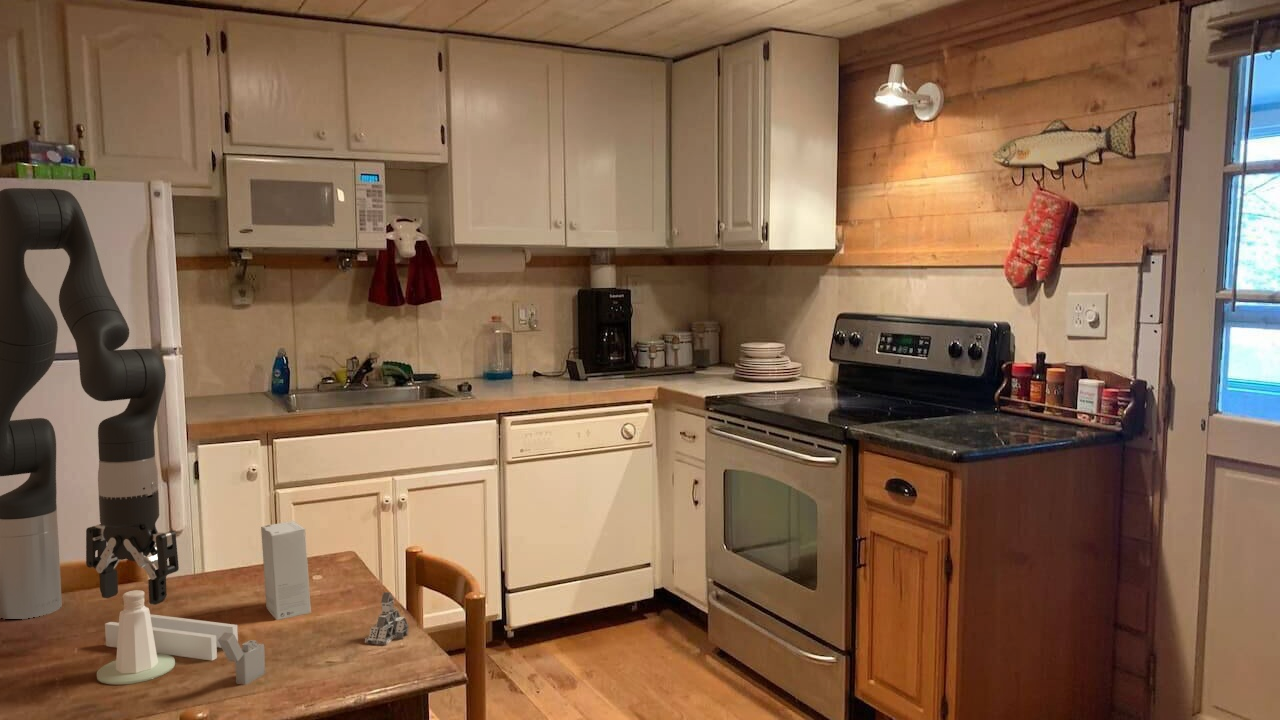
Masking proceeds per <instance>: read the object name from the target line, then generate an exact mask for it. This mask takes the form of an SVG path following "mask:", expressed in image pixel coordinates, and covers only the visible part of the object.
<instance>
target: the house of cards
mask: <svg viewBox="0 0 1280 720" xmlns="http://www.w3.org/2000/svg"><path fill="white" fill-rule="evenodd" d="M394 601H395V600H394V597H393V595H392V593H391V592H387V591H383V592H382V597H381V599H380V604H381V614H379V615H377V616H378V617H377V621H376V624H374V625H372V626H371V627H370V630H369V635H368V636H367V637H365V638H364V644H370V645H379V646H380V645H381V646H388V644H389V643H390V642H391V641H392V640H394V639H397V640H398V639H399V640H404V636H406V637H408V636H409V633H408V632H409V631H408V630H409V624H408V622H407V619H406V617H405V616H401V614H400V612H399V609H398V608H395V607H394Z"/></svg>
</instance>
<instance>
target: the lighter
mask: <svg viewBox="0 0 1280 720" xmlns="http://www.w3.org/2000/svg"><path fill="white" fill-rule="evenodd" d="M218 641H219V643H220V645H221V647H222V648H221V650H222V651H223V652H224V656H225V657H226V659H227V661H228V662H234V663H235V682H236V683H235V684H237V685H248V684H249V683H252V682H253V681H255V680H257V679H258V678H261V677H262V676H263V675H266V663H265V661H266V660H265V659H266V658H265V656H266V655H265V644H264V643H259V642H258V641H257V640H255V639H249V640H247V641H245V642H244V643H242V644H241V645H240V643H239V640H238V641H237V639H236V637H235V635H234V634H233V633H226V632H225V633H224V634H223V635H222V636H221V637H220V638H219V639H218Z"/></svg>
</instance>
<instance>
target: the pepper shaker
mask: <svg viewBox="0 0 1280 720" xmlns="http://www.w3.org/2000/svg"><path fill="white" fill-rule="evenodd" d="M145 595H146V593H145V591H143V590H140V589H134V590H130V591H127V592H124V593H123V594H122V599H123V600H122V601H123V610H121V611H120V612H119V617H118V623H119V628H118V642H117V647H116V659H115V660H116V670H117V671H119V672H120V673H121V674H133V673H139V672H143V671H146V670H150V669H152V668H153V667H154V666H155V665H156V664H157V663H158V659H157V653H156V647H155V641H154V635H153V629H152V623H151V617H150V614H151V611H150V609H149V607H148V606H145Z"/></svg>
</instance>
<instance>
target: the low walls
mask: <svg viewBox="0 0 1280 720" xmlns="http://www.w3.org/2000/svg"><path fill="white" fill-rule="evenodd" d="M150 617H151V623H152V629H153V635H154V641H155V647H156V653H159V654H167V655H170V656H174V657H175V656H176V657H177V656H178V657H182V658H183V657H184V658H189V659H198V660H205V661H214V660H217V658H218V652H217V651H218V649H217V648H220V649H222V647H221V645H220V643H219V641H218V639H219V638H220V637H221V636H222V635H223V634H224V633H225V632H226V633H233V634H234V635H235V637H236V639H237V641H238V642H239V636H238V635H239V634H238V624H233V623H231V624H230V623H225V622H218V621H217V622H215V621H208V620H200V619H193V618H183V617H176V616H168V615H159V614H151V613H150ZM118 628H119V622H115V621H109V622H106V623H104V629H105V630H104V633H105V647H111V648H117V642H118Z"/></svg>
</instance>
